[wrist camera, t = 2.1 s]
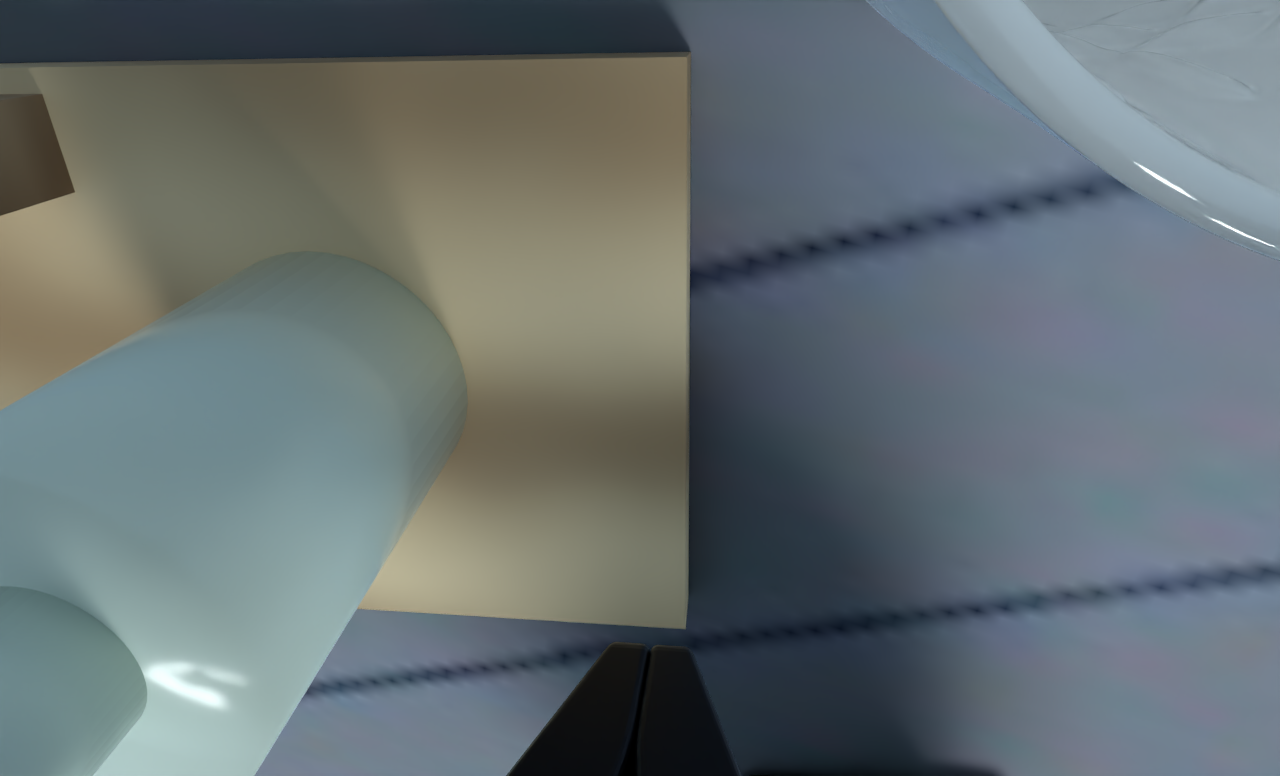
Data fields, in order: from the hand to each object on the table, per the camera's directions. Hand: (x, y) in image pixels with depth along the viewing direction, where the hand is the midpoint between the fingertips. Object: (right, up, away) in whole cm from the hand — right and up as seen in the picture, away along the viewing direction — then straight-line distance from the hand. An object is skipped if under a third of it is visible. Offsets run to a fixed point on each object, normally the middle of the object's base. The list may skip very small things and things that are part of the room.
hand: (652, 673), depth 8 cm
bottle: (-6, +3, +7) cm, 9 cm away
